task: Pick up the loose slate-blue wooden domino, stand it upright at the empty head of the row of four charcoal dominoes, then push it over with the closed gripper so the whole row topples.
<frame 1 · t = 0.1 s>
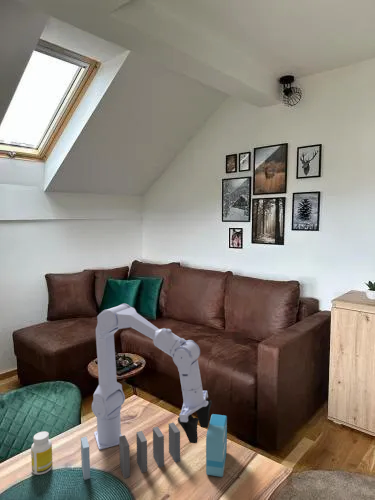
hand: (199, 434, 95), 11 cm above the table, tool pointing down, fingers open, 7 cm apart
domino 3: (142, 466, 98), on the table
domino 4: (158, 461, 100), on the table
slate domino: (85, 473, 95), on the table
data package: (216, 464, 99), on the table
domino 5: (174, 456, 102), on the table
domino 2: (124, 471, 96), on the table
supplement bottle: (42, 469, 97), on the table
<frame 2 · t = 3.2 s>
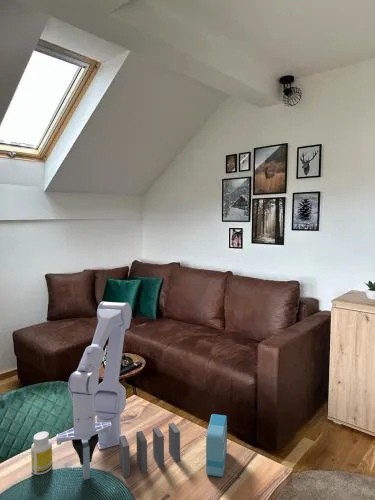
hand: (85, 461, 95), 3 cm above the table, tool pointing down, fingers closed on slate domino, 2 cm apart
slate domino: (85, 473, 95), on the table, touching gripper
everything else where it was.
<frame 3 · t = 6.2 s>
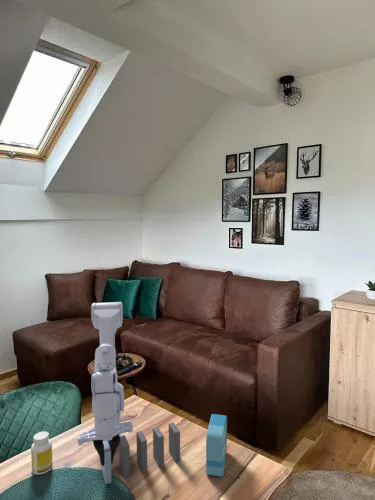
hand: (106, 462, 93), 4 cm above the table, tool pointing down, fingers closed on slate domino, 2 cm apart
slate domino: (106, 477, 94), on the table, touching gripper
everything else where it was.
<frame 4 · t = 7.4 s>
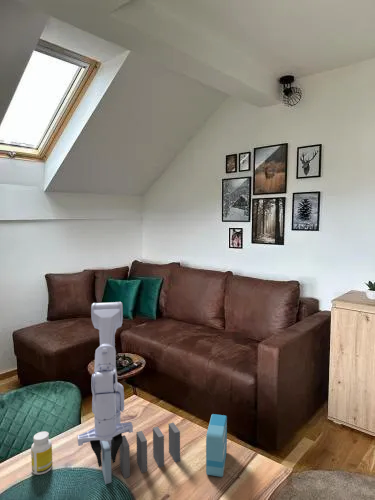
hand: (106, 462, 93), 4 cm above the table, tool pointing down, fingers open, 3 cm apart
slate domino: (106, 477, 94), on the table
everything else where it was.
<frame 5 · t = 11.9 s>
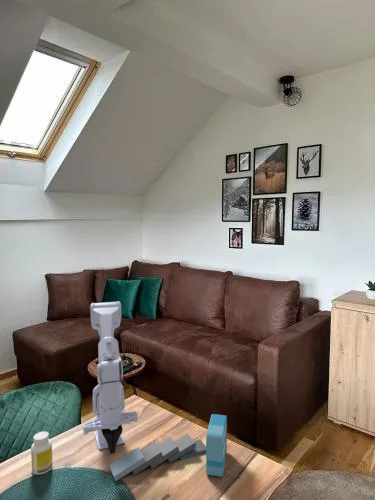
hand: (111, 451, 94), 7 cm above the table, tool pointing down, fingers closed
domino 3: (148, 461, 99), point 1 cm above the table, tilted 73°, touching domino 2, domino 4
domino 4: (165, 455, 101), point 1 cm above the table, tilted 76°, touching domino 3, domino 5
slate domino: (112, 472, 94), point 1 cm above the table, tilted 72°, touching domino 2
domino 5: (177, 454, 102), on the table, tilted 90°, touching domino 4
domino 2: (130, 467, 96), point 1 cm above the table, tilted 72°, touching domino 3, slate domino
everything else where it was.
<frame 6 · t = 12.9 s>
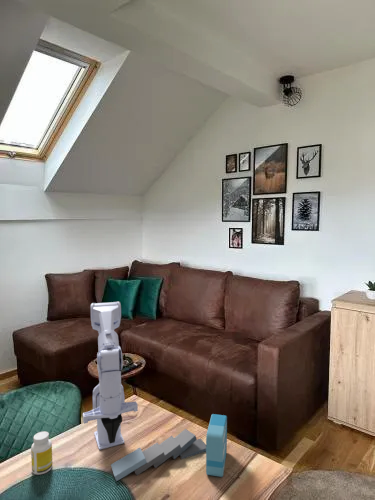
hand: (111, 440, 94), 10 cm above the table, tool pointing down, fingers closed
domino 3: (150, 460, 99), point 1 cm above the table, tilted 72°, touching domino 4
domino 4: (168, 453, 102), point 1 cm above the table, tilted 75°, touching domino 3, domino 5
domino 2: (133, 467, 96), point 1 cm above the table, tilted 72°, touching slate domino
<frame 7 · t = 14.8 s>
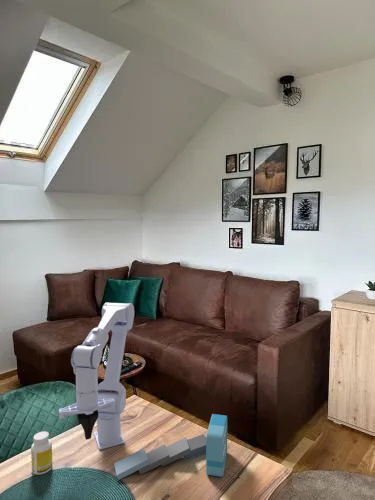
hand: (87, 437, 94), 10 cm above the table, tool pointing down, fingers closed
domino 3: (160, 458, 100), point 1 cm above the table, tilted 70°, touching domino 2, domino 4
domino 4: (181, 450, 102), point 2 cm above the table, tilted 90°, touching domino 3, domino 5
domino 5: (181, 454, 103), on the table, tilted 90°, touching domino 4
domino 2: (138, 466, 97), point 1 cm above the table, tilted 74°, touching domino 3, slate domino
at the end: domino 5 tilted 90°; domino 3 tilted 70°; slate domino inside the target area (2.1 cm from its centre), point 0.8 cm above the table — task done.
